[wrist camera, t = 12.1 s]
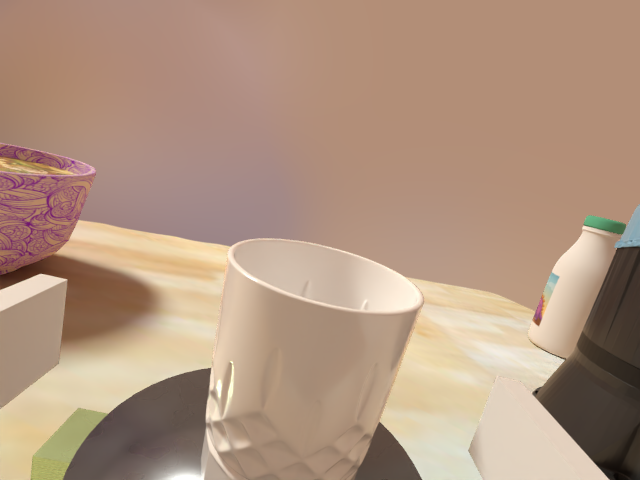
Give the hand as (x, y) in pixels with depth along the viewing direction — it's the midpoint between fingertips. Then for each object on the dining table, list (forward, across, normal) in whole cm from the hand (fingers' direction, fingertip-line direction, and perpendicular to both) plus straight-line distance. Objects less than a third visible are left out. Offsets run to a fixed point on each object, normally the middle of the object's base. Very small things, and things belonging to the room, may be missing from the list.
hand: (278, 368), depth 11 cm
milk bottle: (+41, +40, -12) cm, 59 cm away
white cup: (+4, +1, -8) cm, 9 cm away
